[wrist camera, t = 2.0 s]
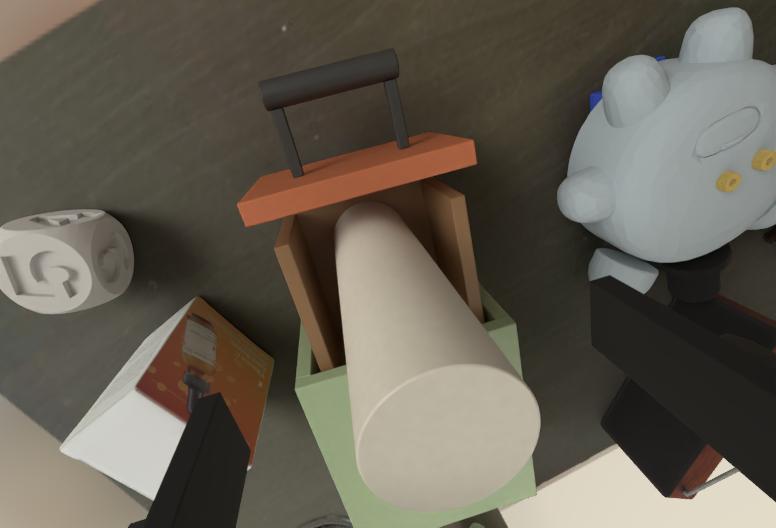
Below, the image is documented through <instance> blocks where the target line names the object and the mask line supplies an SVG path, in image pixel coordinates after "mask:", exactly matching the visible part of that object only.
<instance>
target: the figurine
mask: <svg viewBox="0 0 776 528" xmlns="http://www.w3.org/2000/svg"><path fill="white" fill-rule="evenodd" d="M753 40H754V37H753V30H752V22H751V20H750V18H749V16H748V15H747V13H746V12H745V11H744V10H742V9H740V8H733V7H732V8H725V9H720V10H714V11H712V12H709V13H707V14H705V15H702V16H700V17H699V18H697V19H696V20H695V21H694V22H693V23H692V24H691V25H690V27H689V29H688V30H687V32H686V33H685V36H684V40H683V43H682V47H681V51H680V55H679V58H673V59H666V57H665V56H659V57H657V58H653V57H651V56H647V55H636V56H631V57H628V58H626V59H624V60H622V61H621V62H619V63H617V64H616V65H615V66H614V67H612V68H611V69H610V70H609V72H608V73H607V75H606V76H605V78H604V83H603V87H602V91H599V92H595V93H592V94H591V95H590V110H591V112H590V114H589V116H588V117H587V119H586V120H585V122H584V124H583V125H582V127H581V129H580V130H579V133H578V135H577V138H576V140H575V143H574V145H573V149H572V152H571V155H570V159H569V166H568V173H567V178H566V179H565V180H564V181H563V182H562V183H561V185H560V186H559V189H558V192H557V202H558V205H559V208H560V210H561V212H562V213H563V214H564V215H565V216H566V217H567V218H569V219H570V220H572V221H576V222H579V223H581V224H582V225H583V226H584V227H585V228H586V229H587V230H589V231H590V232H591V233H593V234H594V235H596V236H597V237H599V238H601V239H603V240H605V241H606V242H608V243H610V244H612V245H613V246H615V247H617V248H619V249H620V250H622V251H624V252H626V253H624V252H620V251H617V250H613V249H608V248H598V249H596V251H595V253H594V255H593V257H592V259H591V261H590V263H589V269H588V276H589V281H592V280H595V279H598V278H602V277H605V276H608V275H611V276H612V277H614V278H616V279H618V280H620V281H621V282H623V283H625V284H627V285H629V286H630V287H632V288H634V289H636V290H637V291H639V292H641V293H643V294H644V293H646V292H647V291H648V290H649V289H650V288H651V286H652V284H653V283H654V281H655V279H656V278H657V276H658V270H657V269H656V268H654V267H653V266H652V265H650V264H648V263H646V262H644V261H642V260H640V259H639V258H641V259H643V260H648V261H653V262H656V264H657V266H658V267H659V268H660V269H661V270H662V271H664V272H666V273H667V281H668V289H669V291H670V293H671V294H672V295H673V296H674V297H676V298H678V299H680V300H682V301H686V302H692V303H699V302H704V301H708V300H710V299H712V298H713V297H715V296H716V295H717V294H718V292H719V290H720V271H721V270H723V269H724V268H725V267H726V266H727V265H728V264H729V263H730V261H731V253H732V250H731V248H730V246H729V244H728V242H729V241H731V240H733V239H734V238H736V237H737V236H739V235H740V234H741V233H742V232H744V231H745V230H757V229H764V228H768V227H770V226H773V225H775V224H776V65H770V64H768V63H765V62H763V61H759V60H754V59H752V54H753ZM627 253H628V254H627ZM630 254H631V255H630ZM632 255H633V256H632ZM635 256H636V257H635ZM637 257H638V258H637Z"/></svg>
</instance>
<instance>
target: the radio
mask: <svg viewBox="0 0 776 528" xmlns="http://www.w3.org/2000/svg"><path fill="white" fill-rule="evenodd" d="M668 308H670V309H671V310H673V311H675V312H677V313H678V314H680V315H682V316H684V317H686V318H687V319H689V320H691V321H693V322H695V323H696V324H698V325H700V326H702V327H703V328H705V329H707V330H709V331H711V332H712V333H714V334H716V335H718V336H721V335H725V334H731V335H734V336H738V337H741V338H744V339H747V340H751V341H754V342H756V343H758V344H759V345H761V346H763V347H765V348H767V349H769V350H771V351H773V352H775V354H776V321H774V320H772V319H769V318H767V317H765V316H763V315H761V314H759V313H757V312H754V311H752V310H750V309H748V308H746V307H744V306H741V305H739V304H737V303H735V302H733V301H731V300H729V299H726V298H724V297H722V296H720V295H718V294H717V295H716V296H715V297H713V298H712V299H710V300H708V301H704V302H699V303H692V302H686V301H682V300H680V299H678V298H676V297H673V299H672V301H671V302H670V304H669V306H668ZM601 426H602V427H603V429H604V430H605V431H606V432H607V433H608V434H609V435H610V437H611V438H612V439H613V440H614V441H615V442H616V443H617V444H618V446H619V447H620V448H621V449H622V450H623V451H624V452H625V453H626V455H627V456H628V457H629V458H630V459H631V460H632V461H633V462H634V464H635V465H636V466H637V467H638V468H639V469H640V470H641V471H642V473H643V474H644V475H645V476H646V477H647V478H648V479H649V480H650V481H651V483H652V484H653V485H654V486H655V487H656V488H657V489H658V491H659V492H660V493H661V494H662V495H663V496H664V497H668V498H681V499H693V498H694V497H695V495H696V494H697V493H698V492H699V491H701V490H703V489H705V488H707V487H709V486H711V485H713V484H715V483H717V482H719V481H721V480H723V479H725V478H727V477H729V476H730V475H732V474H734V473H736V472H739V470H738V469H736V468H733V469H731V470H729V471H727V472H725V473H723V474H721V475H720V476H718V477H716V478H714V479H712V480H710V481H708V482H706V480H707V479H708V477H709V476H710V475H711V474H712V472H713V471H714V470H715V468H716V467H717V465H718V464H719V462H720V461H721V460H722V458H723V457H722V456H721V455H720V454H719V453H718V452H717V451H715V450H714V449H713V448H712V447H711V446H709V445H708V444H707V443H706V442H705V441H704V440H702V439H701V438H700V437H699V436H698V435H697V434H695V433H694V432H693V431H692V430H691V429H690V428H688V427H687V426H686V425H685V424H684V423H683V422H681V421H680V420H679V419H678V418H677V417H676V416H674V415H673V414H672V413H671V412H670V411H669V410H667V409H666V408H665V407H664V406H663V405H662V404H660V403H659V402H658V401H657V400H656V399H654V398H653V397H652V396H651V395H650V394H649V393H647V392H646V391H645V390H644V389H643V388H642V387H640V386H639V385H638V384H637V383H636V382H635V381H633V380H632V379H631V378H630V377H629V376H627V378H626V380H625V381H624V383H623V385H622V387H621V388H620V390H619V392H618V394H617V395H616V397H615V399H614V400H613V402H612V404H611V406H610V407H609V409H608V411H607V412H606V414H605V416H604V418H603V419H602V422H601ZM705 482H706V483H705Z"/></svg>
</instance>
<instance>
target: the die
mask: <svg viewBox="0 0 776 528" xmlns="http://www.w3.org/2000/svg"><path fill="white" fill-rule="evenodd" d="M133 270H134V254H133V248H132V244H131V240H130V238H129V235H128V233H127V231H126V230H125V228H124V227H123V225H122V224H121V223H120V222H119V221H117V220H116V219H115V218H114V217H112V216H111V215H109V214H108V213H106V212H104V211H102V210H95V209H79V210H65V211H57V212H49V213H43V214H38V215H32V216H28V217H24V218H20V219H16V220H13V221H10V222H8V223H5V224H4V225H2V227H1V228H0V289H1V290H2V291H3V292H4V293H5V294H6V295H7V296H8V297H9V298H10V299H12V300H13V301H14V302H16V303H17V304H19V305H21V306H23V307H25V308H27V309H30V310H32V311H35V312H38V313H43V314H62V313H70V312H76V311H80V310H84V309H88V308H92V307H95V306H98V305H101V304H103V303H106V302H108V301H110V300H112V299H114V298H116V297H118V296H119V295H121V294H122V293H123V292H124V291H125V290H126V289H127V287H128V286H129V284H130V282H131V279H132V276H133Z"/></svg>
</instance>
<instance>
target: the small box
mask: <svg viewBox="0 0 776 528" xmlns="http://www.w3.org/2000/svg"><path fill="white" fill-rule="evenodd" d="M273 365H274V359H273V358H272V357H271V356H269V355H268V354H267V353H266V352H264V351H263V350H262V349H260V348H259V347H258V346H257V345H255V344H254V343H253V342H252V341H251V340H249V339H248V338H247V337H246V336H244V335H243V334H242V333H241V332H240V331H239V330H238V329H236V328H235V327H234V326H233V325H232V324H231V323H229V322H228V321H227V320H226V319H225V318H224V317H222V316H221V315H220V314H219V313H218V312H217V311H215V310H214V309H213V308H212V307H211V306H209V305H208V304H207V303H206V302H205V301H204V300H203V299H202V298H200V297H199V296H197V297H195V298H194V299H193V300H191V301H190V302H189V303H188V304H186V305H185V306H184V307H183V308H181V309H180V310H179V311H178V312H177V313H176V314H174V315H173V316H172V317H171V318H170V319H168V320H167V321H166V322H165V323H164V324H162V325H161V326H160V327H159V328H158V329H157V330H155V331H154V332H153V333H152V334H151V335H150V336H149V337H147V338H146V339H145V340H144V341H143V343H142V344H141V345H140V347H139V348H138V349H137V350H136V352H135V353H134V354H133V355H132V357H131V358H130V359H129V360H128V362H127V363H126V364H125V366H124V367H123V368H122V369H121V370H120V372H119V373H118V374H117V376H116V377H115V378H114V379H113V381H112V382H111V383H110V384H109V386H108V387H107V388H106V389H105V391H104V392H103V393H102V395H101V396H100V397H99V398H98V400H97V401H96V402H95V404H94V405H93V406H92V407H91V409H90V410H89V411H88V413H87V414H86V415H85V416H84V418H83V419H82V420H81V421H80V423H79V424H78V425H77V426H76V428H75V429H74V430H73V431H72V433H71V434H70V435H69V436H68V438H67V439H66V440H65V441H64V443H63V444H62V445H61V447H60V451H61V452H62V453H64V454H66V455H68V456H70V457H72V458H74V459H78V460H80V461H82V462H84V463H86V464H88V465H90V466H92V467H93V468H95V469H97V470H99V471H101V472H103V473H104V474H106V475H108V476H110V477H112V478H114V479H115V480H117V481H119V482H121V483H123V484H124V485H126V486H128V487H130V488H132V489H134V490H135V491H137V492H139V493H141V494H142V495H144V496H146V497H148V498H149V499H151V500H153V501H154V499H155V496H156V494H157V492H158V489H159V487H160V485H161V482H162V480H163V478H164V475H165V473H166V471H167V468H168V466H169V464H170V461H171V459H172V457H173V454H174V452H175V450H176V447H177V445H178V443H179V440H180V438H181V436H182V433H183V431H184V429H185V426H186V424H187V422H188V419H189V417H190V415H191V412H192V410H193V408H194V405H195V403H196V401H197V399H198V398H202V397H205V396H208V395H212V394H215V393H218V392H221V394H222V396H223V398H224V400H225V402H226V404H227V406H228V408H229V410H230V412H231V413H232V415H233V417H234V419H235V421H236V423H237V425H238V427H239V429H240V431H241V433H242V434H243V436H244V438H245V440H246V442H247V444H248V446H249V448H250V450H251V454H250V459H249V464H248V469H247V470H249V469H250V468H251V467H252V464H253V460H254V455H255V450H256V446H257V441H258V437H259V432H260V427H261V422H262V417H263V413H264V408H265V403H266V399H267V394H268V389H269V384H270V380H271V375H272V370H273Z"/></svg>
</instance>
